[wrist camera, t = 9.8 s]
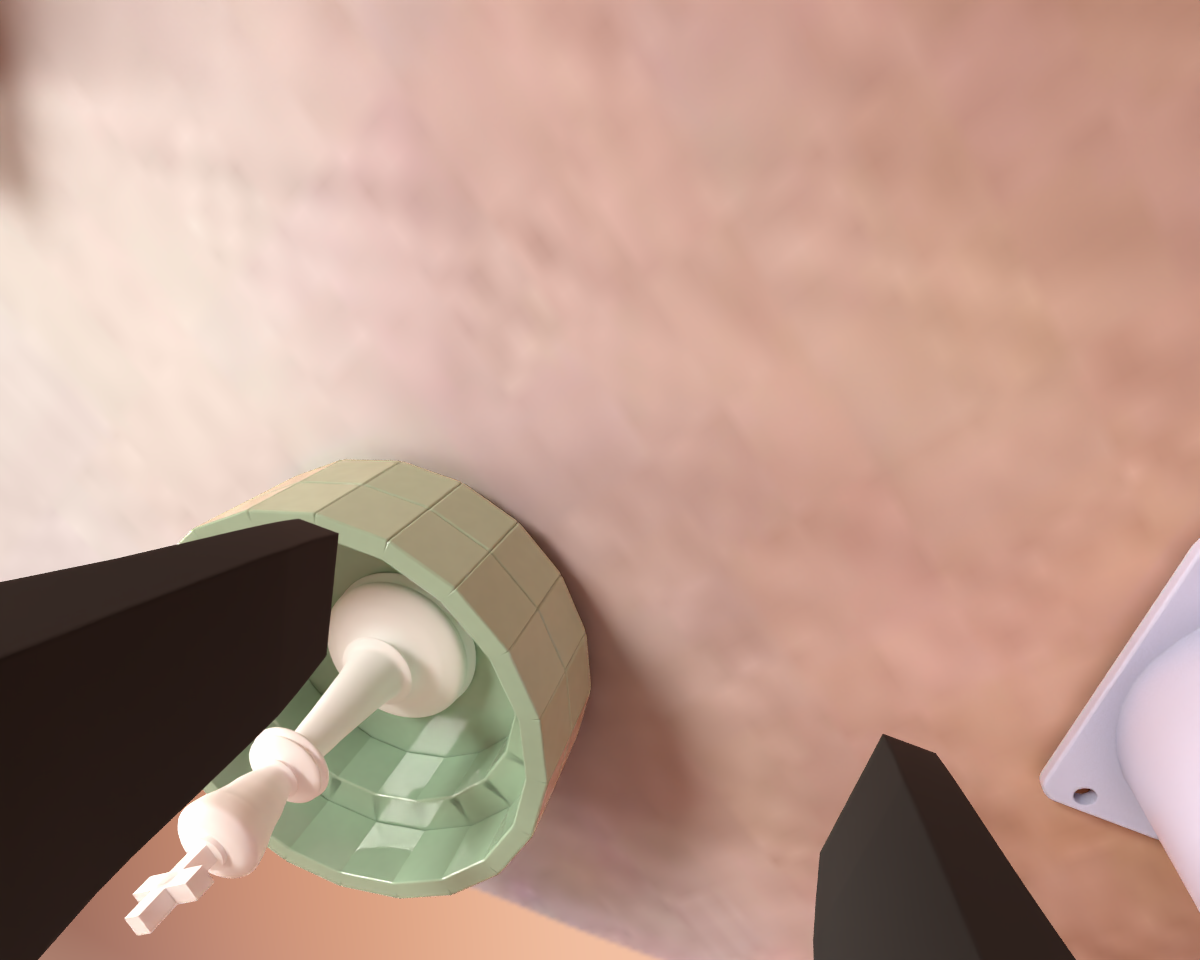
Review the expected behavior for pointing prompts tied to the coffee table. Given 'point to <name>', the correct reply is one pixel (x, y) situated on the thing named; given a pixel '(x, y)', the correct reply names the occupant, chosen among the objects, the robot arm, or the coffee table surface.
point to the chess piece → (319, 732)
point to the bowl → (460, 732)
